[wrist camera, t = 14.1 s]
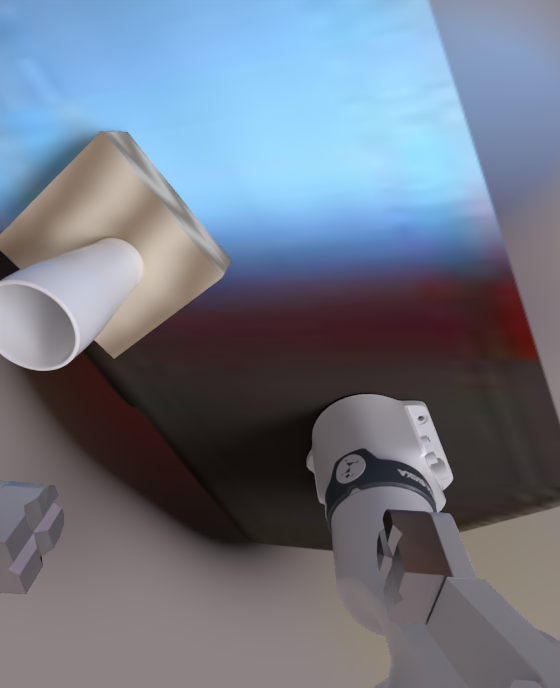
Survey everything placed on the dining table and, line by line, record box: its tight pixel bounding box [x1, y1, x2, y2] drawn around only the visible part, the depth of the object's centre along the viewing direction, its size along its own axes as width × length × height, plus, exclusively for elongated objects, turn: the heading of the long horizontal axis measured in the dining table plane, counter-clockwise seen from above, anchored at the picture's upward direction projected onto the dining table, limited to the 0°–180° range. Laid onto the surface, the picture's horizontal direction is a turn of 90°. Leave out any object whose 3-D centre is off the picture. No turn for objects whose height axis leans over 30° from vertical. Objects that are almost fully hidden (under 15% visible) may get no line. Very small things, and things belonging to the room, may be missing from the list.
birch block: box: [0, 131, 231, 358], centre depth 42 cm, size 16×16×6 cm
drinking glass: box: [0, 238, 144, 371], centre depth 33 cm, size 7×7×15 cm
